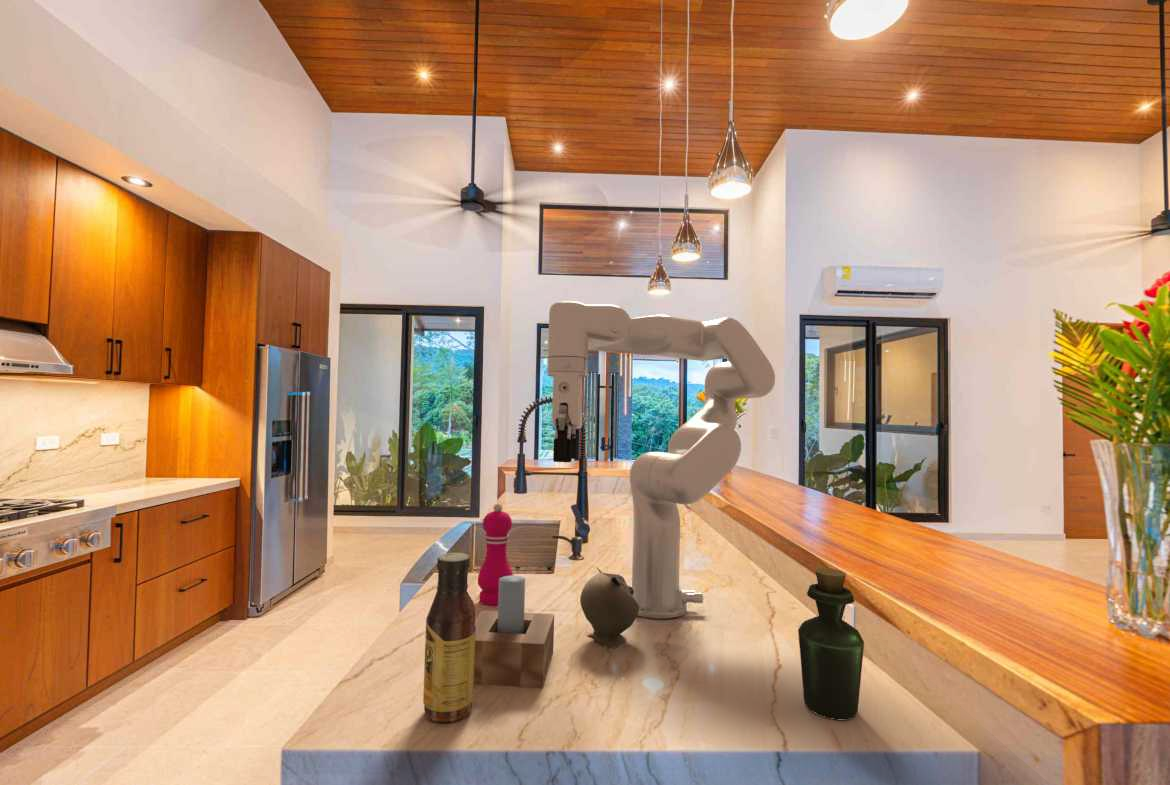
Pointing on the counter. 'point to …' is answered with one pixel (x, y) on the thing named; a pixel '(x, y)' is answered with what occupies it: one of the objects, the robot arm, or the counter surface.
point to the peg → (511, 604)
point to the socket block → (513, 651)
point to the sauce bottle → (450, 643)
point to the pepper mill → (494, 555)
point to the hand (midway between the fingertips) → (565, 460)
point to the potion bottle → (831, 650)
